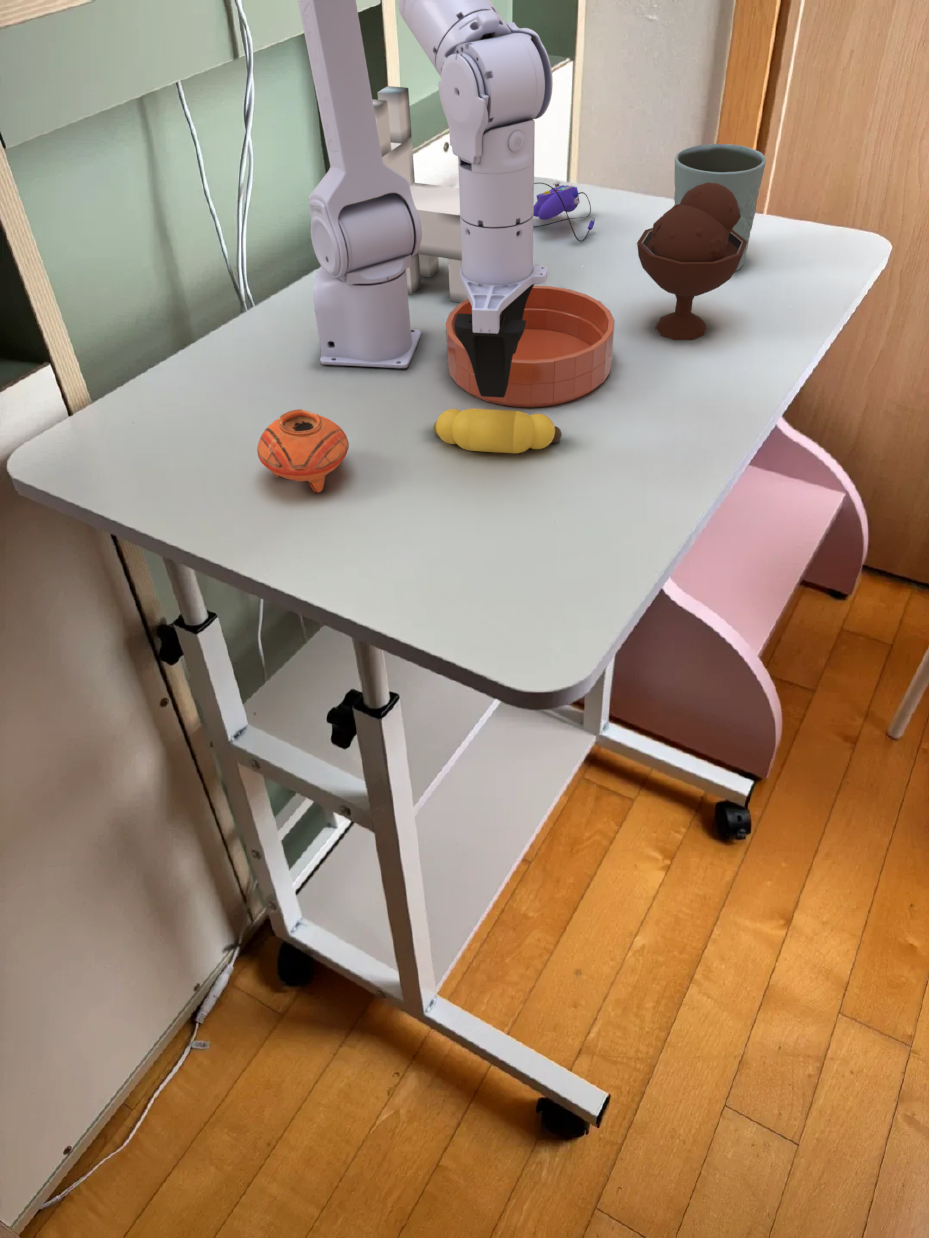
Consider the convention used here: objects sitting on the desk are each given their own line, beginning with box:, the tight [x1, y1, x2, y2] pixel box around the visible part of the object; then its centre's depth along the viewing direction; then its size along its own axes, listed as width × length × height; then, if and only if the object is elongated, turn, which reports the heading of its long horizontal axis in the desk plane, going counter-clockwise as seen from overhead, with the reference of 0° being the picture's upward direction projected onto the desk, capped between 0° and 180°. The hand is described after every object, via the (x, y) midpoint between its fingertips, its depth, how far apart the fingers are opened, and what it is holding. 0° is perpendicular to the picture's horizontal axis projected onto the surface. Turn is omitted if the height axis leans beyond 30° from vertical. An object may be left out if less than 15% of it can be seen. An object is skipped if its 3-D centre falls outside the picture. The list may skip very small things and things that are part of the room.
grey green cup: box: [673, 143, 767, 273], centre depth 113 cm, size 10×10×12 cm
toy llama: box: [350, 85, 468, 304], centre depth 108 cm, size 8×18×20 cm, turn 66°
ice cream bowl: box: [636, 182, 747, 341], centre depth 99 cm, size 11×11×15 cm
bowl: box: [445, 285, 615, 408], centre depth 98 cm, size 17×17×5 cm
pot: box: [256, 408, 350, 494], centre depth 84 cm, size 8×8×7 cm
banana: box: [432, 407, 562, 454], centre depth 87 cm, size 12×4×4 cm, turn 81°
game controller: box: [533, 181, 596, 242], centre depth 124 cm, size 10×8×10 cm
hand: (498, 372), depth 84 cm, fingers open, 7 cm apart
